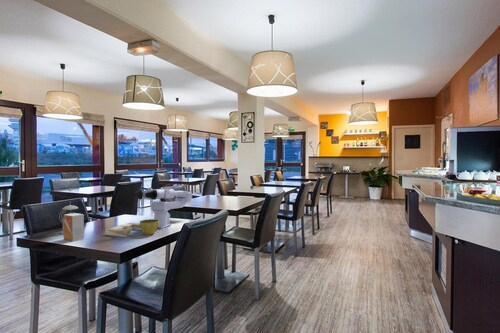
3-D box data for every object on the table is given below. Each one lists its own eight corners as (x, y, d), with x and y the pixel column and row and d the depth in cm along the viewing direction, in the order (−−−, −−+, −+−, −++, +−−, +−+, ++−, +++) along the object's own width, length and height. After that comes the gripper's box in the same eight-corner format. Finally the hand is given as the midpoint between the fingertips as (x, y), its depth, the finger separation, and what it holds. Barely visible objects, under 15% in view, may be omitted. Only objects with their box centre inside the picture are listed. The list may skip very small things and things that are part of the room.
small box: (63, 239, 163) (62, 214, 162) (75, 236, 168) (74, 212, 168) (72, 241, 159) (72, 215, 158) (84, 238, 164) (84, 214, 164)
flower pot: (139, 236, 169) (139, 223, 169) (140, 232, 178) (140, 219, 178) (158, 235, 172) (158, 222, 171) (158, 231, 181) (158, 218, 181)
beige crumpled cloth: (130, 227, 191) (130, 222, 191) (150, 229, 187) (150, 224, 187) (105, 234, 172) (105, 229, 172) (126, 236, 168) (126, 231, 168)
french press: (71, 234, 174) (70, 189, 174) (53, 233, 177) (53, 189, 176) (84, 230, 184) (83, 187, 184) (67, 229, 186) (66, 187, 186)
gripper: (144, 187, 190) (129, 187, 177) (165, 187, 185) (151, 188, 172) (144, 199, 190) (128, 200, 177) (164, 199, 185) (150, 200, 172)
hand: (139, 195), depth 175 cm, fingers open, 7 cm apart
